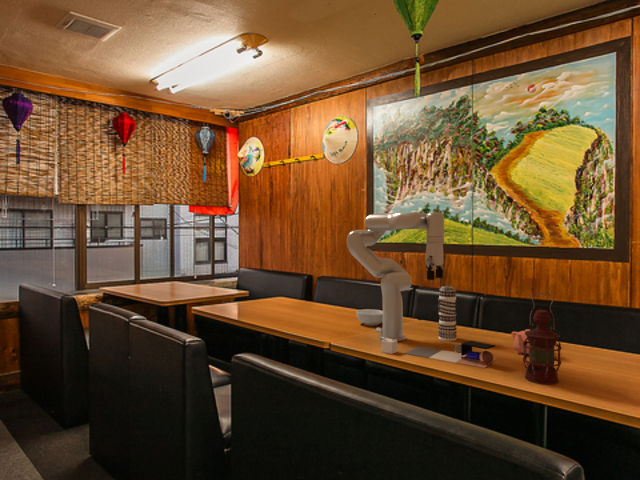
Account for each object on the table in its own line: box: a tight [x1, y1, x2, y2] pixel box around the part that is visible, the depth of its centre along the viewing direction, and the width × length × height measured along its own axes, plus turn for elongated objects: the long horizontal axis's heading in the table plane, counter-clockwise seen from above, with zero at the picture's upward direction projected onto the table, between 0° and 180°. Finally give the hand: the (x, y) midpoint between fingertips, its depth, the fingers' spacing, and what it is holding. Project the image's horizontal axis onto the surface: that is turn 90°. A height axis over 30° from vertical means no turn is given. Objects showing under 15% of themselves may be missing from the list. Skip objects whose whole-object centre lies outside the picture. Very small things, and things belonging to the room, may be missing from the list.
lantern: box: [522, 292, 563, 386], centre depth 152 cm, size 12×12×30 cm
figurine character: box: [454, 340, 496, 365], centre depth 174 cm, size 7×8×15 cm
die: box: [380, 338, 398, 355], centre depth 188 cm, size 5×5×5 cm
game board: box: [403, 345, 496, 369], centre depth 180 cm, size 33×14×1 cm, turn 53°
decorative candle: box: [437, 285, 459, 342], centre depth 211 cm, size 9×9×25 cm
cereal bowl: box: [356, 308, 383, 327], centre depth 245 cm, size 17×17×7 cm
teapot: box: [511, 328, 531, 355], centre depth 185 cm, size 14×12×10 cm
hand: (434, 278), depth 196 cm, fingers open, 9 cm apart
